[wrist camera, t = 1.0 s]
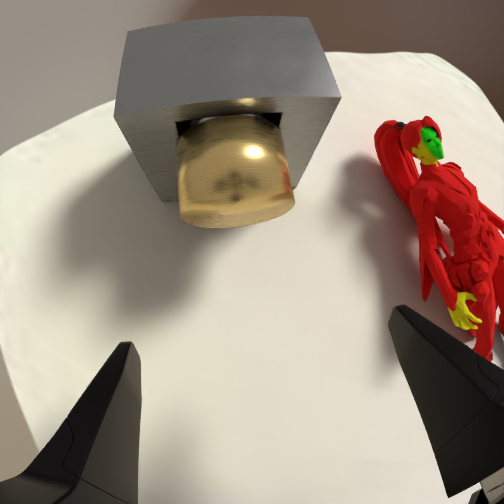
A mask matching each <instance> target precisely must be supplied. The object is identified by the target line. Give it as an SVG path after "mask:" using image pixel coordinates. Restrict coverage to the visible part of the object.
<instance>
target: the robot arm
mask: <svg viewBox="0 0 504 504" xmlns="http://www.w3.org/2000/svg"><path fill="white" fill-rule="evenodd" d="M388 328H389V331H390V334H391V337H392V340H393V343H394V347H395V350H396V353H397V356H398V359H399V362H400V365H401V368H402V370H403V372H404V375H405V377H406V380H407V382H408V384H409V387H410V389H411V392H412V394H413V397H414V400H415V402H416V405H417V407H418V410H419V412H420V415H421V418H422V420H423V423H424V426H425V429H426V431H427V434H428V437H429V440H430V443H431V446H432V449H433V452H434V454H435V458H436V461H437V464H438V467H439V470H440V474H441V477H442V480H443V483H444V487H445V490H446V494H447V496H448V498H450V497H452V496H454V495H456V494H458V493H460V492H462V491H464V490H466V489H468V488H470V487H471V486H473V485H475V484H477V483H479V482H480V484H481V487H482V488H481V489H479V490H478V491H476V492H474V493H473V494H472V495H471V498H470V501H469V503H468V504H504V370H503V369H501V368H500V367H498V366H496V365H495V364H493V363H492V362H490V361H489V360H487V359H486V358H484V357H483V356H481V355H480V354H478V353H476V352H475V351H474V350H472V349H471V348H469V347H468V346H467V345H465V344H464V343H462V342H461V341H459V340H458V339H456V338H455V337H453V336H452V335H450V334H449V333H447V332H446V331H444V330H443V329H441V328H440V327H438V326H437V325H435V324H434V323H432V322H431V321H429V320H428V319H426V318H425V317H423V316H422V315H420V314H419V313H417V312H416V311H414V310H412V309H411V308H409V307H408V306H406V305H398V306H395V307H394V308H393V310H392V313H391V316H390V319H389V322H388ZM141 404H142V396H141V360H140V356H139V354H138V352H137V350H136V348H135V346H134V344H133V343H132V342H130V341H129V342H120V343H119V344H118V346H117V347H116V348H115V350H114V351H113V352H112V354H111V355H110V357H109V358H108V359H107V361H106V362H105V363H104V365H103V366H102V367H101V369H100V370H99V372H98V373H97V374H96V376H95V377H94V379H93V380H92V381H91V383H90V384H89V386H88V387H87V388H86V390H85V391H84V393H83V394H82V395H81V397H80V398H79V400H78V401H77V403H76V404H75V406H74V407H73V408H72V410H71V411H70V413H69V414H68V416H67V417H68V418H66V419H65V420H64V421H63V423H62V424H61V426H60V427H59V429H58V430H57V431H56V433H55V434H54V436H53V437H52V438H51V439H50V441H49V442H48V443H47V444H46V446H45V447H44V448H43V449H42V451H41V452H40V453H39V454H38V455H37V457H36V458H35V459H34V460H33V462H32V463H31V464H30V465H29V466H28V467H27V468H26V470H24V471H23V472H22V473H21V474H19V475H17V476H16V477H13V478H10V479H8V480H5V481H2V482H0V504H138V458H139V435H140V419H141Z"/></svg>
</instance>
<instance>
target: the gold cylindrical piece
mask: <svg viewBox="0 0 504 504" xmlns="http://www.w3.org/2000/svg"><path fill="white" fill-rule="evenodd" d="M176 153H177V176H178V195H179V210H180V218H181V219H182V221H184V222H185V223H187V224H190V225H193V226H198V227H205V228H230V227H240V226H247V225H252V224H257V223H261V222H265V221H268V220H271V219H274V218H277V217H279V216H281V215H283V214H285V213H287V212H288V211H290V210H291V209H292V208H293V206H294V204H295V199H294V194H293V188H292V183H291V178H290V173H289V167H288V162H287V157H286V152H285V148H284V143H283V138H282V134H281V131H280V130H279V128H278V127H277V126H276V125H275V124H273V123H272V122H270V121H268V120H266V116H265V113H256V114H241V115H227V116H219V117H209V118H200V119H192V120H188V130H187V131H186V132H185V133H183V135H182V136H181V137H180V138H179V140H178V142H177V147H176Z"/></svg>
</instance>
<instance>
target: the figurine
mask: <svg viewBox="0 0 504 504" xmlns="http://www.w3.org/2000/svg"><path fill="white" fill-rule="evenodd" d="M404 124H405V123H403V122H397V121H395V120H390V121H385V122H384V123H383V124H382V125H381V126H380V127H379V128H378V129H377V131H376V133H375V135H374V142H375V148H376V152H377V156H378V159H379V161H380V164H381V166H382V168H383V171H384V173H385V175H386V177H387V179H388V180H389V182H390V184H391V185H392V187H393V188H394V190H395V192H396V193H397V195H398V197H399V198H400V199H401V200H402V201H403V203H404V204H405V205H406V206H407V208H408V209H409V210H410V211H411V213H412V214H413V217H415V221H416V222H417V228H418V239H419V262H420V274H421V288H422V297H423V300H424V301H426V300H427V298H428V296H429V293H430V290H431V287H432V283H433V279H434V280H435V282H436V284H437V286H438V288H439V291H440V293H441V295H442V297H443V299H444V301H445V305H446V307H447V308H448V311H449V313H450V316H451V318H452V320H453V323H454V325H455V326H457V327H460V328H462V329H463V330H470V335H472V336H475V337H476V338H477V340H476V344H475V347H474V348H473V349H472V350H474V351H475V352H476V353H478V354H480V355H481V356H483V357H484V358H486V359H487V360H489V361H490V362H491V361H492V360H493V354H492V352H491V351H492V348H493V345H494V331H495V318H496V310H497V307H498V305H499V308H500V312H501V313H500V315H499V323H498V330H499V331H500V332H501V334H502V335H503V336H504V239H503V237H502V236H501V234H500V233H499V231H498V229H499V230H501V232H502V234H504V221H503V220H502V219H501V218H500V217H498V216H497V215H496V214H495V213H493V212H492V211H491V210H490V209H489V208H487V207H486V206H485V205H484V204H482V203H481V202H480V201H479V200H478V195H477V189H476V187H475V186H474V185H473V184H472V183H471V182H470V181H469V180H467V179H466V178H465V177H464V174H463V172H462V171H461V167H460V166H458V165H457V164H455V163H454V162H448V163H446V164H442V165H441V164H440V163H439V162H438V160H439V159H443V158H444V156H443V150H442V145H441V140H442V137H441V132H440V129H439V127H438V125H437V124H436V123H435V122H434V121H433V120H432V119H431V118H430V117H429V116H425V117H424V118H423V119H422V120H416V121H411V122H409V123H408V124H405V125H404ZM412 156H413V157H415V158H418V159H419V160H421V163H420V166H421V171H422V173H421V175H420V177H419V174H418V171H417V168H416V165H415V162H414V160H413V157H412ZM435 216H436V217H438V218H439V219H441V220H443V224H445V225H446V226H447V227H448V228H449V229H450V236H451V237H452V239H453V241H454V247H453V251H454V256H451V255H450V253H449V250H448V248H447V246H446V244H445V242H444V239H443V235H442V233H441V230H440V228H439V225H438V223H437V220H436V218H435ZM496 227H497V228H498V229H497V228H496ZM437 244H438V245H439V246H440V247H441V248H442V250H443V251H444V253H445V255H446V256H447V257H445V258H444V259H443V262H442V261H441V259H440V257H439V249H438V246H437ZM446 274H448V275H446ZM466 317H467V318H466ZM464 324H465V325H466V326H465V325H464Z"/></svg>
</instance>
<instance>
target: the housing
mask: <svg viewBox="0 0 504 504" xmlns="http://www.w3.org/2000/svg"><path fill="white" fill-rule="evenodd" d="M341 98H342V97H341V94H340V92H339V89H338V86H337V84H336V81H335V78H334V76H333V73H332V71H331V68H330V66H329V63H328V61H327V58H326V56H325V53H324V51H323V49H322V46H321V44H320V42H319V40H318V37H317V35H316V33H315V30H314V28H313V26H312V24H311V22H310V20H309V18H306V17H286V16H245V17H243V16H242V17H223V18H210V19H200V20H191V21H183V22H176V23H169V24H164V25H158V26H152V27H147V28H142V29H137V30H132V31H128V33H127V38H126V43H125V47H124V53H123V58H122V63H121V69H120V75H119V81H118V88H117V95H116V102H115V110H114V119H115V121H116V122H117V124H118V126H119V128H120V130H121V131H122V133H123V135H124V137H125V139H126V140H127V142H128V144H129V146H130V148H131V149H132V151H133V153H134V155H135V156H136V158H137V160H138V162H139V163H140V165H141V167H142V169H143V170H144V172H145V174H146V175H147V177H148V179H149V181H150V182H151V184H152V186H153V187H154V189H155V191H156V192H157V194H158V196H159V197H160V199H161V201H162V202H166V201H173V200H179V195H178V176H177V153H176V147H177V142H178V140H179V138H180V137H181V136H182V135H183V133H185V132H186V131H187V130H188V120H192V119H200V118H209V117H219V116H227V115H241V114H256V113H265V116H266V120H268V121H270V122H272V123H273V124H275V125H276V126H277V127H278V128H279V130H280V131H281V134H282V138H283V143H284V148H285V152H286V157H287V162H288V167H289V173H290V178H291V183H292V188H295V187H297V185H298V183H299V181H300V179H301V177H302V175H303V173H304V171H305V169H306V167H307V165H308V163H309V161H310V159H311V157H312V155H313V153H314V151H315V149H316V147H317V145H318V143H319V141H320V139H321V137H322V135H323V133H324V131H325V129H326V127H327V126H328V124H329V122H330V120H331V118H332V116H333V114H334V112H335V110H336V108H337V106H338V104H339V102H340V100H341Z"/></svg>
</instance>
